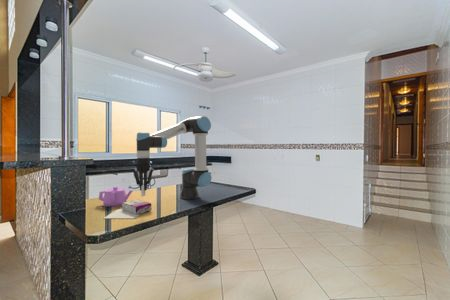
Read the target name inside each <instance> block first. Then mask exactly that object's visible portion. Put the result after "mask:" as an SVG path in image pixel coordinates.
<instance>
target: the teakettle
mask: <svg viewBox="0 0 450 300" xmlns="http://www.w3.org/2000/svg"><path fill="white" fill-rule="evenodd" d="M132 193H133V189H132V190H131V189H130V190H128V193H127V191H126V188H125V187H124V188H123V187H121V188H119V187H118V186H112V188H107V189H106V190H100V191H99V195H98V200H99V201H102V202H103V207H118V206H119V207H122V203H124V202H128V201H127V200H128V199H129V197H130V196H131V195H132Z"/></svg>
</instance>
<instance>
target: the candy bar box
mask: <svg viewBox="0 0 450 300" xmlns="http://www.w3.org/2000/svg"><path fill="white" fill-rule="evenodd" d="M152 208H153V207H152V203H151V202H148V201H145V200H140V199H133V200H129V201H126V202H124V203H122V206H121V209H122V210H125V211H127V212H130V213H133V214H140V213H141V214H144V213H147V212H151V211H152V210H153V209H152ZM141 214H140V215H141Z"/></svg>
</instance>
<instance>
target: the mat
mask: <svg viewBox="0 0 450 300" xmlns="http://www.w3.org/2000/svg"><path fill="white" fill-rule="evenodd" d="M140 215H142V213H140V214H133V213H130V212H127V211H125V210H122V208H119V209H118V208H117V209H116V210H114V211H113V212H111V213H109V214H107V215H105V217H103V220H107V219H108V220H109V219H110V220H112V219H113V220H117V219H118V220H124V219H126V220H134V219H136V218H137V217H139V216H140Z"/></svg>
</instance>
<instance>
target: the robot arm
mask: <svg viewBox="0 0 450 300" xmlns="http://www.w3.org/2000/svg"><path fill="white" fill-rule="evenodd" d="M211 128H212V123H211V120H210V119H209V118H208V117H207V116H204V115H199V116H192V117H191V116H190V117H189V118H186V119H184V120H182V121H180V122H178V123H177V124H175V125H172V126H169V127H167V128H164V129H162V130H159V131H157V132H154V133H152V134H150V133H149V132H145V131H144V132H140V131H139V132H137V133H136V166H135V168H132V169H131V171H132V172H133V175H134V178H135V183H136V185H139V190H140V193H141V195H140V196H141V197H145V196H146V191H147V190H148V185H150V184H151V179H152V176H153V173H154V171H155V169H154V168H153V167H151V163H150V162H151V159H150V155H151V154H150V149H157V148H158V149H165V148H166V147H167V145H168V140H169V139H172V138H174V137H177V136H179V135H185V134H187V133H192V135H193V137H194V163H195V164H194V165H195V166H194V168H191V169H190V168H189V169H183V170H182V171H181V172H182V173H181V183H182V184H181V186H182V187H181V191H180V194H179V199H182V200H196V199H199V198H200V197H199V196H200V195H199V191H198V188H197V187H200V188H206V187H208V186H209V185H210V184H211V182H212V178H213V177H212V174H211V173H210V172H209V168H208V167H207V136H208V135H209V132H210V130H211Z"/></svg>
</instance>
